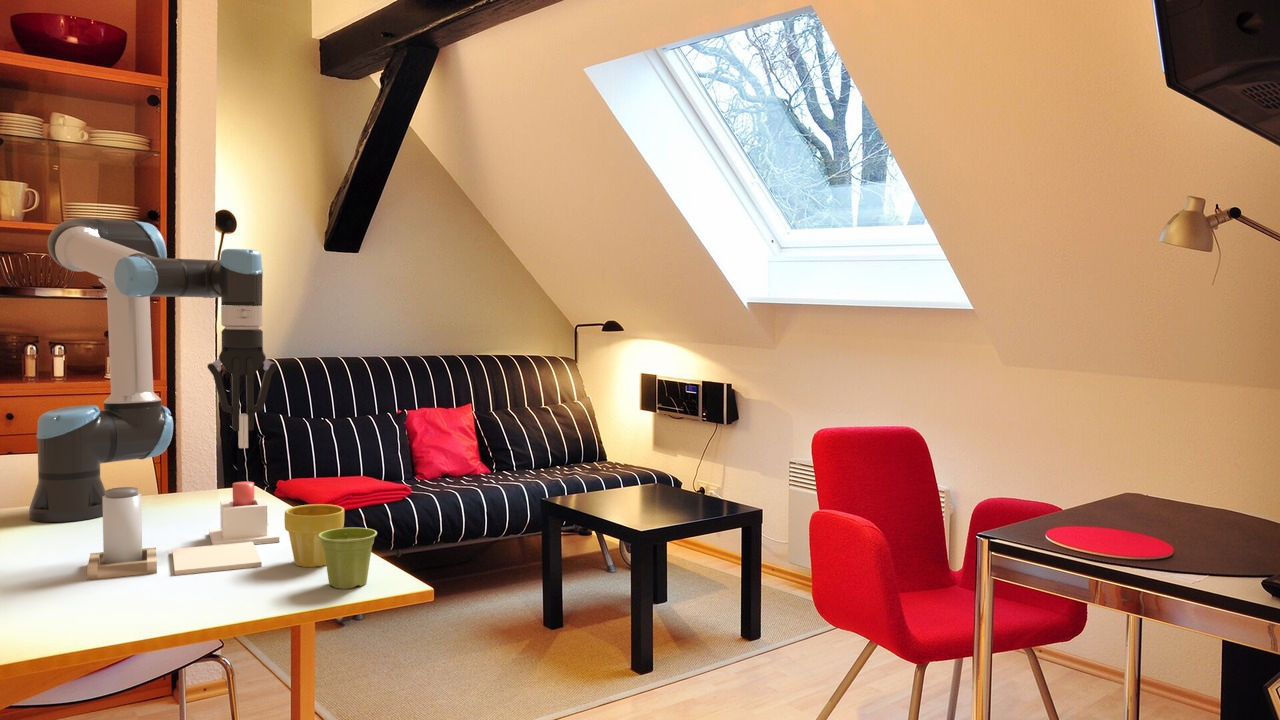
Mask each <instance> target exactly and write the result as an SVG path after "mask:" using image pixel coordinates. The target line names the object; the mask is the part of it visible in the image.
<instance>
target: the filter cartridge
mask: <svg viewBox="0 0 1280 720" xmlns="http://www.w3.org/2000/svg"><path fill="white" fill-rule="evenodd" d="M105 491H106V495H104V496H103V497H102V499H103V516H102V541H103V542H102V546H103V547H102V548H103V553H104V564H113V563H124V562H135V561H142V549H143V532H142V531H143V528H142V527H143V523H142V522H143V521H142V520H143V519H142V518H143V517H142V516H143V515H142V514H143V513H142V493H140V492H139V488H137V487H134V486H127V487H126V486H125V487H123V486H121V487H113V488H108V489H105Z"/></svg>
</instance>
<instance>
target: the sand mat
mask: <svg viewBox="0 0 1280 720" xmlns="http://www.w3.org/2000/svg"><path fill="white" fill-rule="evenodd" d="M172 561H173V571H174V576H179V575H180V576H181V575H190V574H199V573H208V572H209V573H210V572H218V571H219V572H220V571H228V570H229V571H231V570H242V569H249V568H258V567H259V568H260V567H262V563H263V562H262V560H261V557H260V555H259V553H258V551H257V547H256V546H255V544H254V543H253V542H243V543H232V544H221V545H212V544H211V545H202V546H190V547H181V548H180V547H178V548H172Z"/></svg>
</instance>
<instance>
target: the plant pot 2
mask: <svg viewBox="0 0 1280 720" xmlns="http://www.w3.org/2000/svg"><path fill="white" fill-rule="evenodd" d="M377 535H378V532H377V530H375V529H373V528H366V527H343V528H338V529H332V530H327V531H324V532H321V533H320V534H319V538H320V539H321V541H322V546H323V547H324V553H325V559H326V565H325V566H326V573H327V577H328V578H327V579H328V585H329V586H332V587H333V588H335V589H353V588H355V587H356V586H359V587H362V586H364V585H366V584H367V582H368V575H369V569H370V568H369V567H370V561H371V556H372V555H371V554H372V548H373V545H374V542H375V537H376V536H377Z"/></svg>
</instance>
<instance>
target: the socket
mask: <svg viewBox="0 0 1280 720" xmlns="http://www.w3.org/2000/svg"><path fill="white" fill-rule="evenodd" d="M86 570H87V571H86V573H87V574H86V576H87V581H89V580H99V579H100V580H101V579H109V578H119V577H131V576H139V575H150V574H157V573H158V561H157V547H148V548H142V561H135V562H124V563H113V564H104V553H103V552H90V553H89V558H88V562H87V568H86Z"/></svg>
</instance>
